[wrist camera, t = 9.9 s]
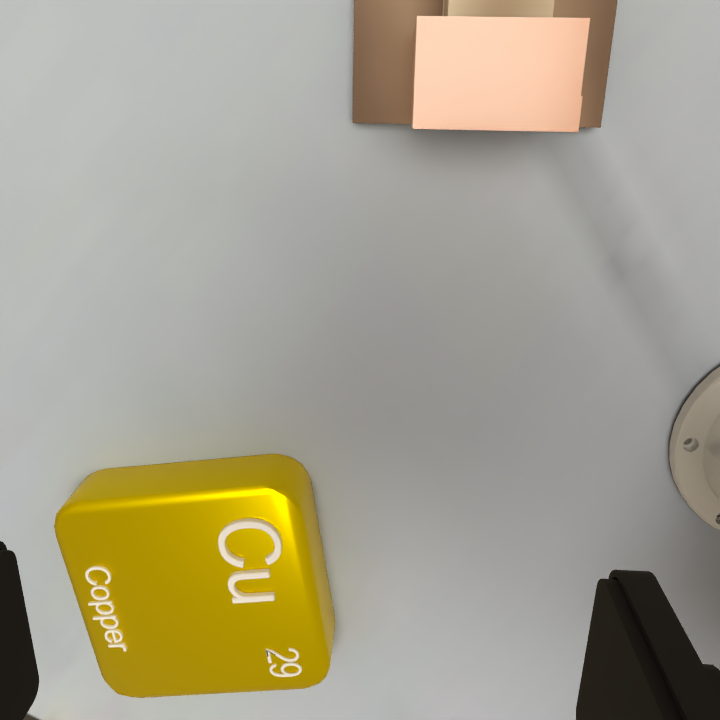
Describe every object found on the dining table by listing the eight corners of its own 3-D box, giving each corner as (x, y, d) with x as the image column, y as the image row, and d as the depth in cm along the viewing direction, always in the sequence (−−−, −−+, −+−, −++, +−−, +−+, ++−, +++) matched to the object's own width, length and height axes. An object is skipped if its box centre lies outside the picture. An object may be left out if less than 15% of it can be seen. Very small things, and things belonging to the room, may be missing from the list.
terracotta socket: (551, 35, 32) (592, 17, 25) (541, 126, 33) (578, 131, 26) (413, 33, 32) (417, 14, 25) (409, 123, 33) (412, 128, 27)
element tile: (75, 468, 44) (38, 509, 39) (306, 447, 42) (295, 488, 38) (132, 653, 49) (105, 708, 44) (340, 640, 47) (333, 696, 43)
